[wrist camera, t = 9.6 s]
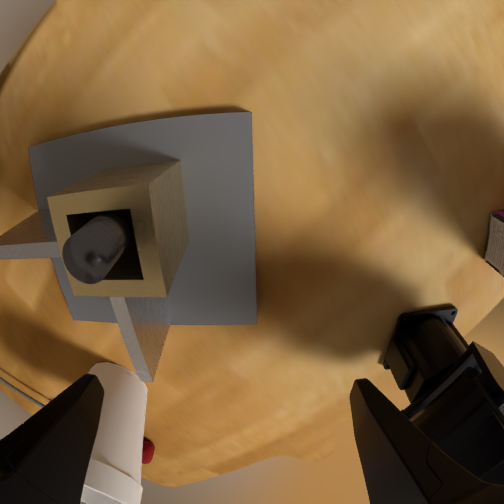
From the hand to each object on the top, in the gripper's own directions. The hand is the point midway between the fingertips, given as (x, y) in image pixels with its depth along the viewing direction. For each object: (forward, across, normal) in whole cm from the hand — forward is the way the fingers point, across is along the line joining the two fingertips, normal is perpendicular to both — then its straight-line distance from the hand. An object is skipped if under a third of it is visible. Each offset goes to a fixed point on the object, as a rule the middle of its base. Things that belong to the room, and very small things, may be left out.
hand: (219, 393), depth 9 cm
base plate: (+11, +6, -2) cm, 13 cm away
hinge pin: (+10, +5, -4) cm, 12 cm away
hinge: (+10, +8, 0) cm, 13 cm away
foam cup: (+12, +13, +14) cm, 23 cm away
